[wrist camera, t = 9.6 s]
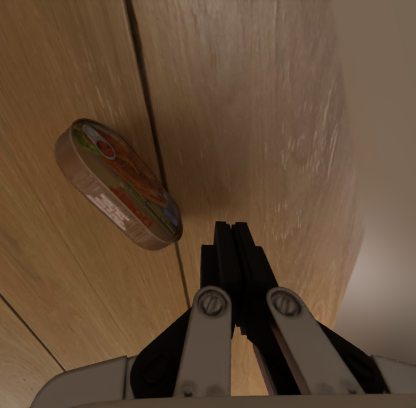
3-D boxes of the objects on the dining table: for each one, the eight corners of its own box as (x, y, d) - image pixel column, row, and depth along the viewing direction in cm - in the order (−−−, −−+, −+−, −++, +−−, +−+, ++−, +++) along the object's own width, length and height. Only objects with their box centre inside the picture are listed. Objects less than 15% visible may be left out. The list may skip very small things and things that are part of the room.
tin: (186, 215, 27) (182, 256, 19) (168, 226, 27) (157, 270, 20) (104, 114, 21) (51, 117, 13) (84, 131, 21) (21, 143, 14)
